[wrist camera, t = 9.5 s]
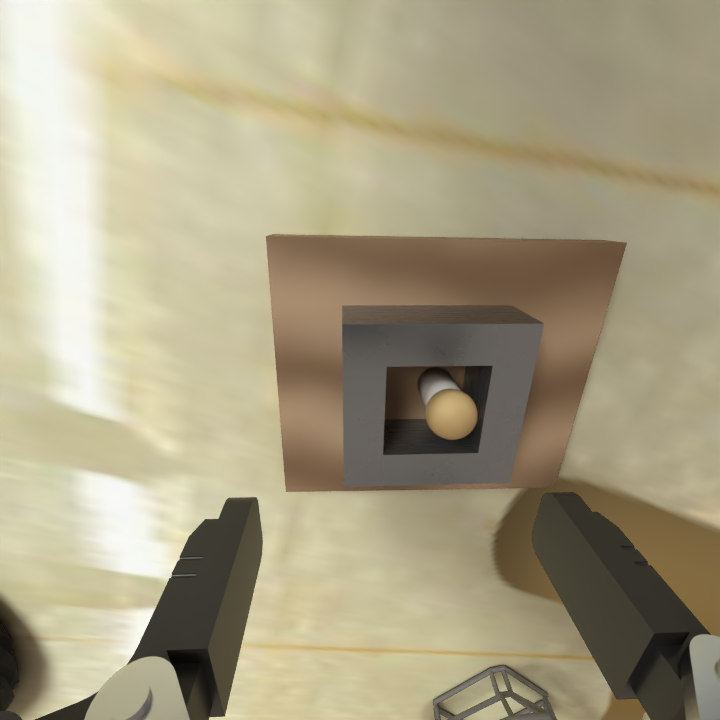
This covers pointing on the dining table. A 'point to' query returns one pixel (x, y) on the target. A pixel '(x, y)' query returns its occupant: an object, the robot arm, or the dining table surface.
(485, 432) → the grey square frame
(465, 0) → the dining table surface
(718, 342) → the dining table surface
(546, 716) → the geometric lantern
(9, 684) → the black studded ring
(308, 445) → the keeper block
